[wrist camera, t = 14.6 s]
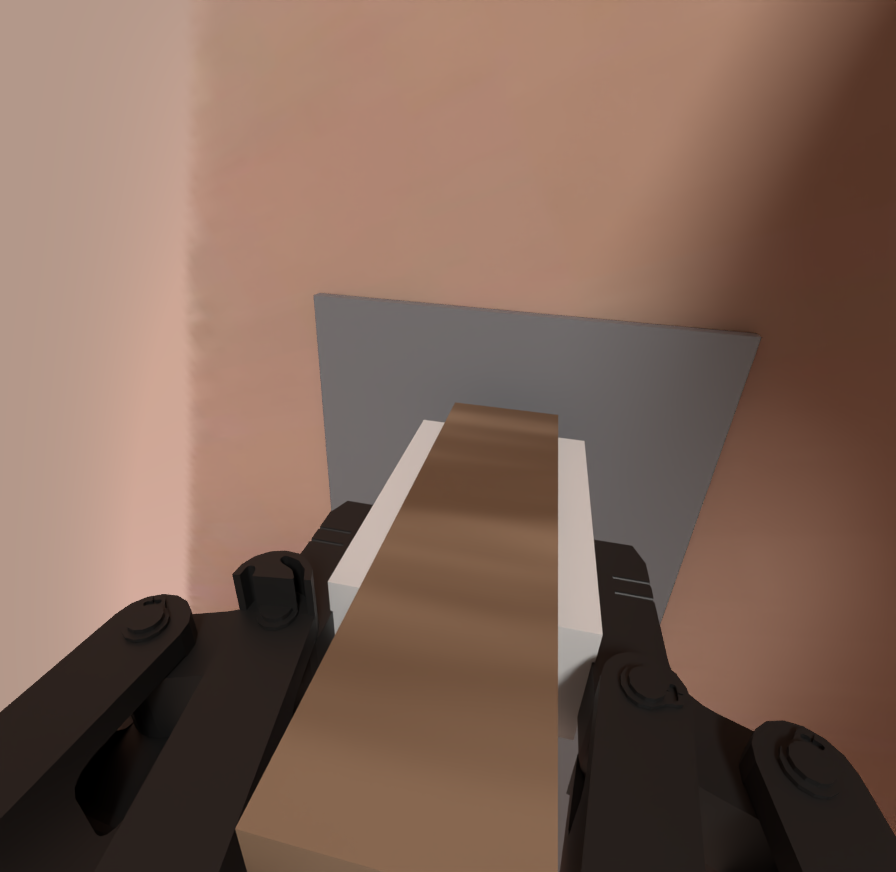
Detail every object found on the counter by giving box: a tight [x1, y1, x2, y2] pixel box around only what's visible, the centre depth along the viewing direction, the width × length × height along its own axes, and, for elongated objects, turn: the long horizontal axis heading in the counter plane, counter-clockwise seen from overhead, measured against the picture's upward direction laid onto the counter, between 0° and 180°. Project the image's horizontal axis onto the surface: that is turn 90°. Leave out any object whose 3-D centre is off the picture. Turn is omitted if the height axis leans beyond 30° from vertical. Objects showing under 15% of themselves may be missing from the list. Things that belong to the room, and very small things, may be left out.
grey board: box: [314, 293, 761, 872], centre depth 22 cm, size 38×13×3 cm, turn 177°
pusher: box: [235, 402, 558, 872], centre depth 11 cm, size 9×10×11 cm
